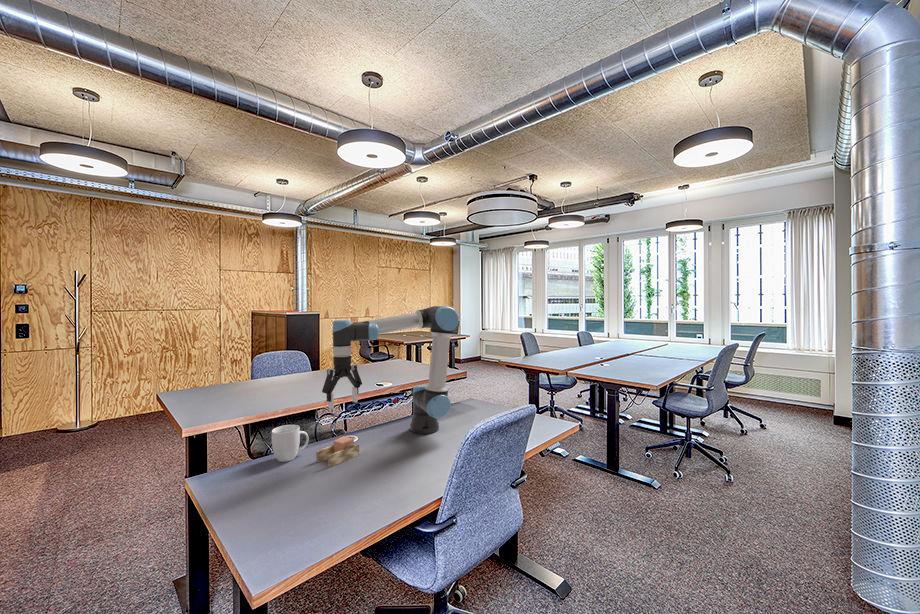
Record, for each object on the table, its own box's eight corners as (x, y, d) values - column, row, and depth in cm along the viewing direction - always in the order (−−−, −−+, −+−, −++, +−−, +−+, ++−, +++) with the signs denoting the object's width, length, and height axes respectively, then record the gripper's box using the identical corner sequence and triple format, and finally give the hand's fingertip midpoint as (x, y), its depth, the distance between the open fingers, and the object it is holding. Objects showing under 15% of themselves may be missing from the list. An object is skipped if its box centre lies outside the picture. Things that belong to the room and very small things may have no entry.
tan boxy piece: (345, 449, 170) (345, 437, 170) (360, 454, 164) (359, 442, 164) (315, 461, 158) (315, 448, 158) (330, 467, 152) (330, 453, 151)
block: (345, 451, 167) (345, 436, 167) (354, 454, 164) (353, 439, 164) (334, 456, 162) (333, 440, 162) (342, 459, 159) (342, 443, 159)
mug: (305, 449, 171) (304, 420, 171) (312, 456, 163) (312, 427, 162) (269, 458, 162) (268, 428, 161) (275, 466, 153) (275, 435, 153)
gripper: (358, 351, 174) (359, 397, 174) (312, 358, 154) (313, 410, 155) (369, 352, 170) (370, 400, 170) (323, 360, 150) (324, 413, 150)
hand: (343, 405), depth 162 cm, fingers open, 12 cm apart
